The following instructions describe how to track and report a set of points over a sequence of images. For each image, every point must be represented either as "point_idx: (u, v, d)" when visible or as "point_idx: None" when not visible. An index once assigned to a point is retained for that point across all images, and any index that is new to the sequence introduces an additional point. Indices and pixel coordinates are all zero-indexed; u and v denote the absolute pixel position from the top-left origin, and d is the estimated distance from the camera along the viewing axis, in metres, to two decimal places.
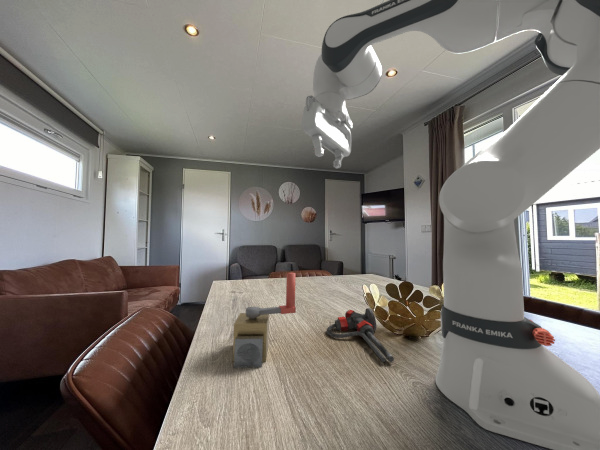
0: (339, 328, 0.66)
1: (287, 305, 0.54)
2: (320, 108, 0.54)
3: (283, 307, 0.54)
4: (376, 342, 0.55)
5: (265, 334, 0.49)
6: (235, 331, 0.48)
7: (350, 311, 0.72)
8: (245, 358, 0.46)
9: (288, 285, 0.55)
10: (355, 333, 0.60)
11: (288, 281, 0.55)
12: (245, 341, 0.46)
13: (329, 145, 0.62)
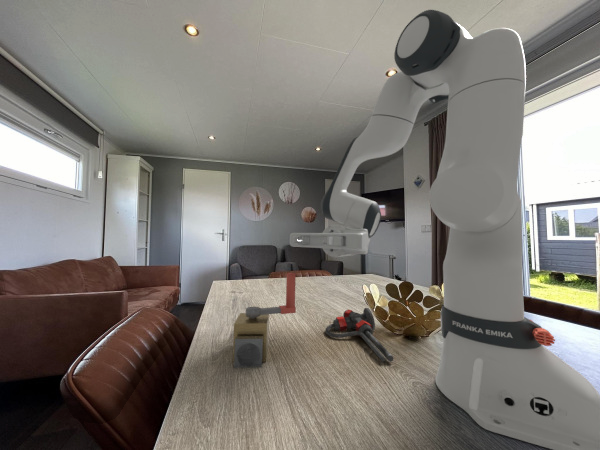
0: (338, 328, 0.66)
1: (287, 305, 0.54)
2: None
3: (283, 307, 0.54)
4: (375, 342, 0.55)
5: (265, 334, 0.49)
6: (235, 331, 0.48)
7: (348, 311, 0.72)
8: (245, 358, 0.46)
9: (288, 285, 0.55)
10: (354, 333, 0.60)
11: (288, 281, 0.55)
12: (245, 341, 0.46)
13: None
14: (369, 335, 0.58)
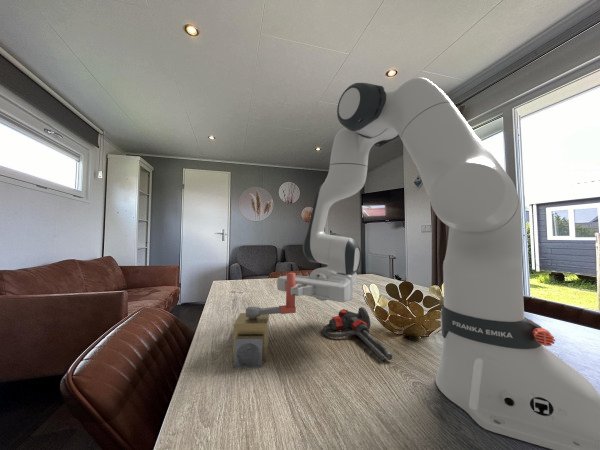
0: (334, 328, 0.66)
1: (287, 305, 0.54)
2: (297, 275, 0.66)
3: (283, 307, 0.54)
4: (373, 340, 0.55)
5: (265, 334, 0.49)
6: (235, 331, 0.48)
7: (343, 310, 0.73)
8: (245, 358, 0.46)
9: (288, 285, 0.55)
10: (351, 332, 0.61)
11: (288, 281, 0.55)
12: (245, 341, 0.46)
13: None
14: (366, 334, 0.59)
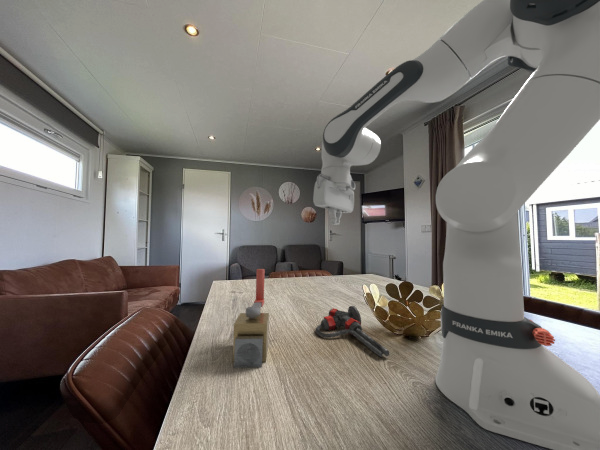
0: (327, 327, 0.66)
1: (261, 298, 0.60)
2: (329, 184, 0.63)
3: (260, 301, 0.59)
4: (368, 338, 0.57)
5: (265, 334, 0.49)
6: (235, 331, 0.48)
7: (334, 310, 0.73)
8: (245, 358, 0.46)
9: (262, 280, 0.61)
10: (345, 331, 0.61)
11: (262, 276, 0.61)
12: (245, 341, 0.46)
13: None
14: (360, 332, 0.60)
